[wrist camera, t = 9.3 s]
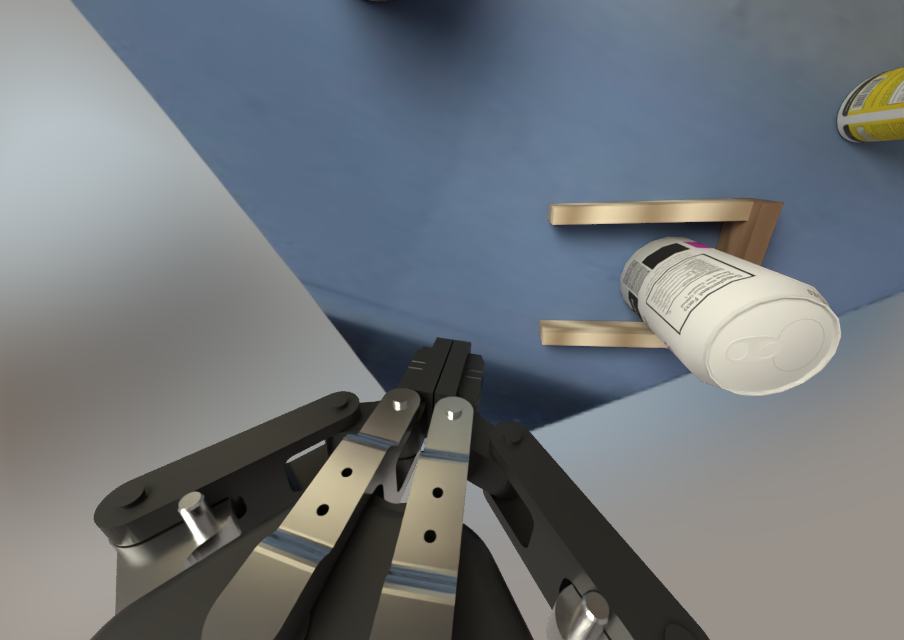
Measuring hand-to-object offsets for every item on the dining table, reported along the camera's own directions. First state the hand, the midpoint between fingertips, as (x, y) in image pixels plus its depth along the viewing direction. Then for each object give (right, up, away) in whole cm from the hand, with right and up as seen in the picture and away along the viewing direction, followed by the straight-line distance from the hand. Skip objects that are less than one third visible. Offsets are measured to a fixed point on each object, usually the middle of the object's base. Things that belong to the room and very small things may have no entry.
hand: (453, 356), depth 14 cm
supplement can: (+21, +6, +19) cm, 29 cm away
